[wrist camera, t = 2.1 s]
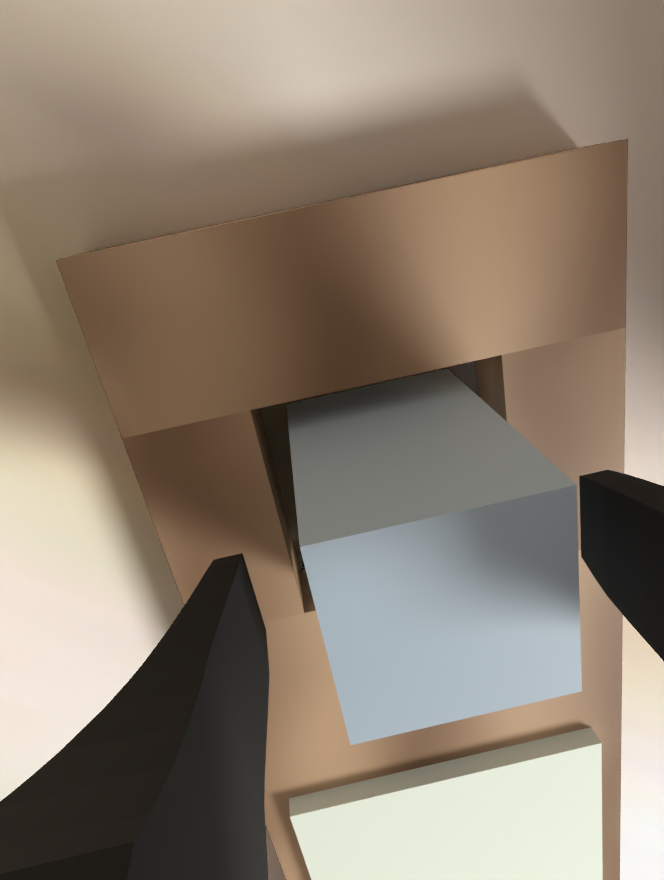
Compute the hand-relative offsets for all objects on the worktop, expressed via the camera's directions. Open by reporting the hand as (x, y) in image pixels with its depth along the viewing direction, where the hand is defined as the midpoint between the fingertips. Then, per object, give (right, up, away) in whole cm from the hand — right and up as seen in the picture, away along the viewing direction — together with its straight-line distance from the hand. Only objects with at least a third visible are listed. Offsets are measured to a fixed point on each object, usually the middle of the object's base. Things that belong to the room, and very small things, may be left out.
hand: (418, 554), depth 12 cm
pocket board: (+1, -5, +7) cm, 8 cm away
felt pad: (+3, -13, +8) cm, 15 cm away
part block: (0, +2, +4) cm, 5 cm away
